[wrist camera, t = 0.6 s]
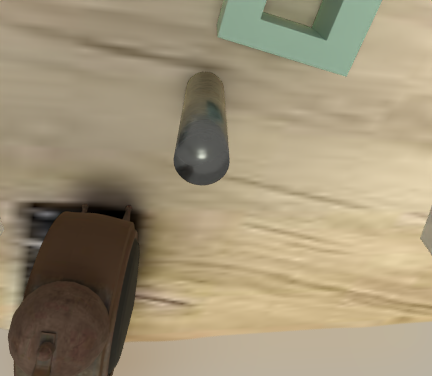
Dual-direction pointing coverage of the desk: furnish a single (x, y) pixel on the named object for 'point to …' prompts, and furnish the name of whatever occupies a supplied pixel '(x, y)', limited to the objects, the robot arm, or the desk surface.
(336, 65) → the socket block
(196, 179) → the pin
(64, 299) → the alarm clock
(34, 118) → the desk surface
